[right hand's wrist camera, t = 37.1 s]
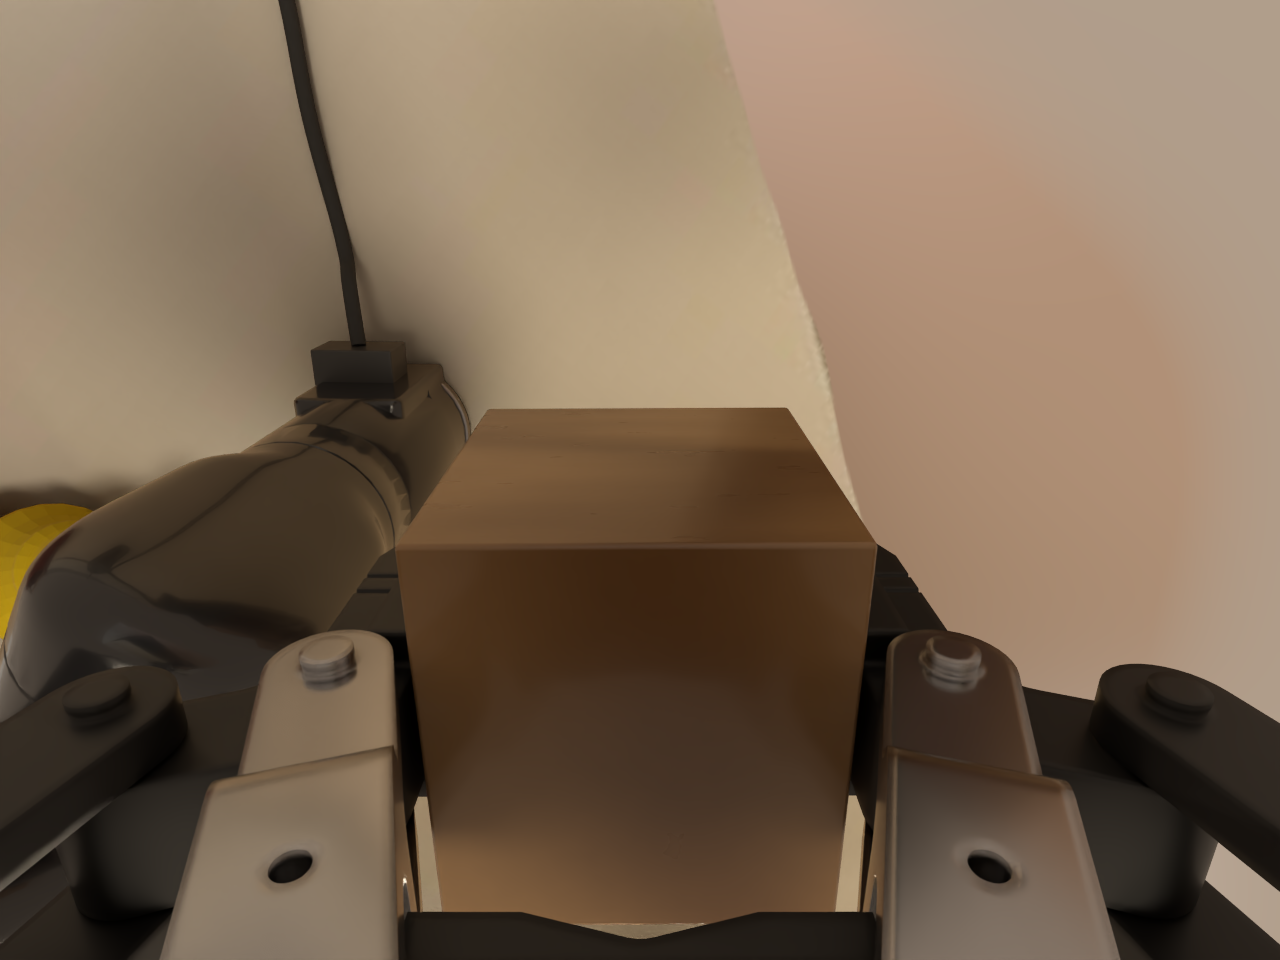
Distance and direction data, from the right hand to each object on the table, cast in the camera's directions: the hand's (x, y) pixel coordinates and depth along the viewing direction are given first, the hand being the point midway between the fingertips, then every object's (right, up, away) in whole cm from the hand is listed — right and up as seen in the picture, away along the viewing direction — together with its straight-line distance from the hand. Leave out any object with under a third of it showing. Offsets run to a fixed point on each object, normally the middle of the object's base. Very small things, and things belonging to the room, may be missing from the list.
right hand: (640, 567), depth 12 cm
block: (0, 0, 0) cm, 1 cm away
